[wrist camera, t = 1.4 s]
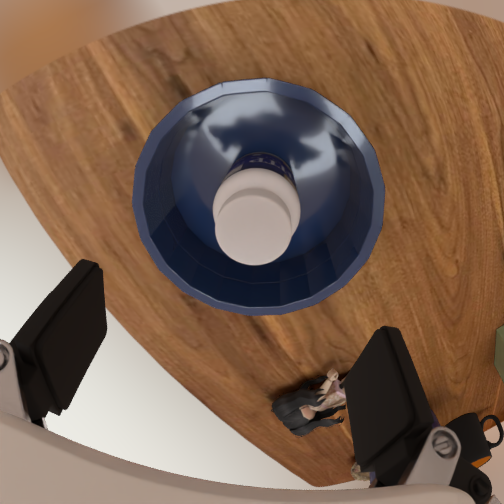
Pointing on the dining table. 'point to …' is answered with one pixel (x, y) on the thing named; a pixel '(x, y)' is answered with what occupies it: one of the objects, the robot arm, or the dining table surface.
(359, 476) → the seashell
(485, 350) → the dining table surface
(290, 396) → the toy figure
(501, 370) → the stand
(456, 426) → the mug
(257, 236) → the pill bottle
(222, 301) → the bowl
